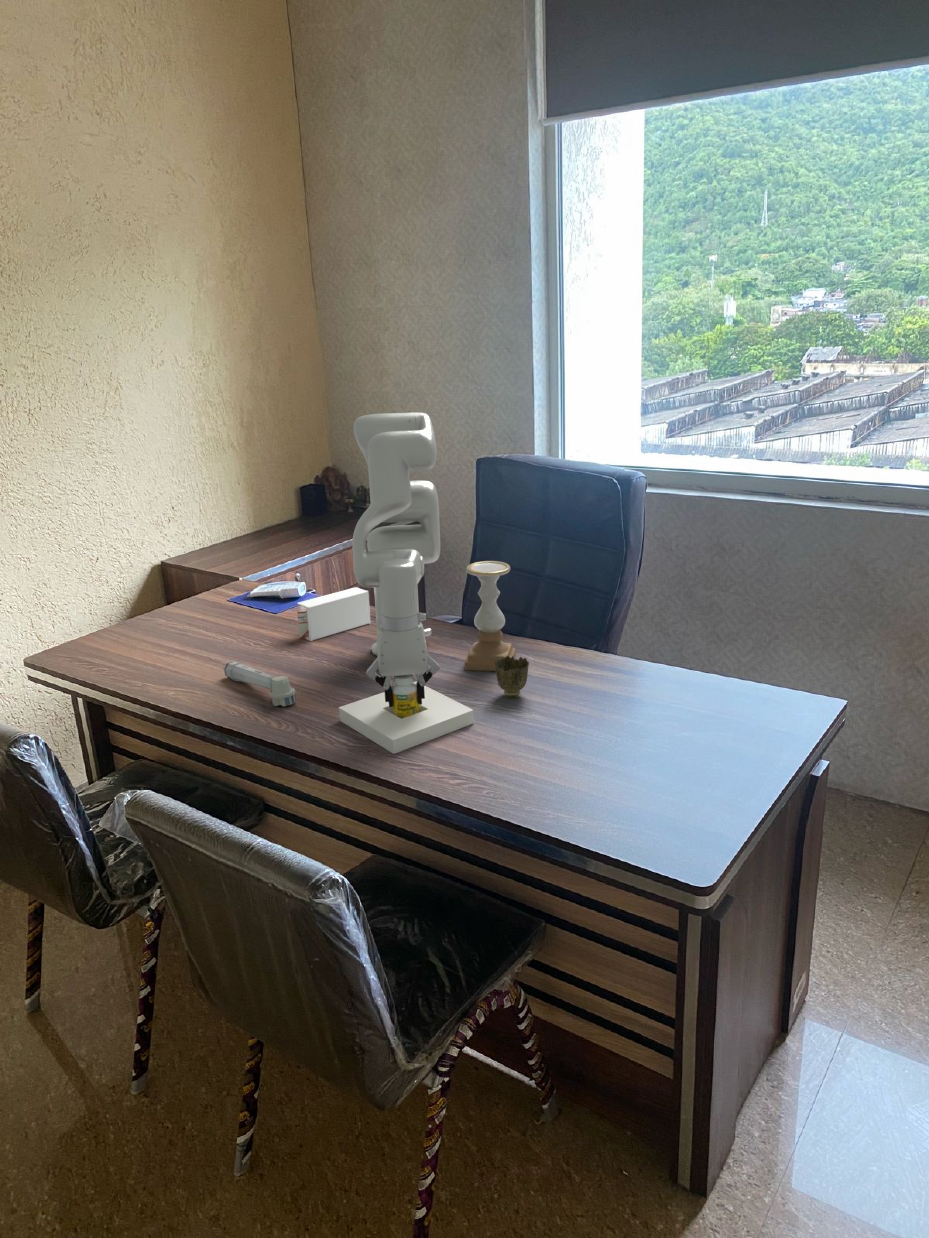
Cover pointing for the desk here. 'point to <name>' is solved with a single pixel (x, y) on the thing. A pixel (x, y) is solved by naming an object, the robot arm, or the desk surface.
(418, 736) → the hole board
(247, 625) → the desk surface
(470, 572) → the candle holder
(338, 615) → the white box
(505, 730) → the desk surface
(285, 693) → the toothbrush head
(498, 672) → the cup
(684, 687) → the desk surface
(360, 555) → the robot arm
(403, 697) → the supplement bottle
